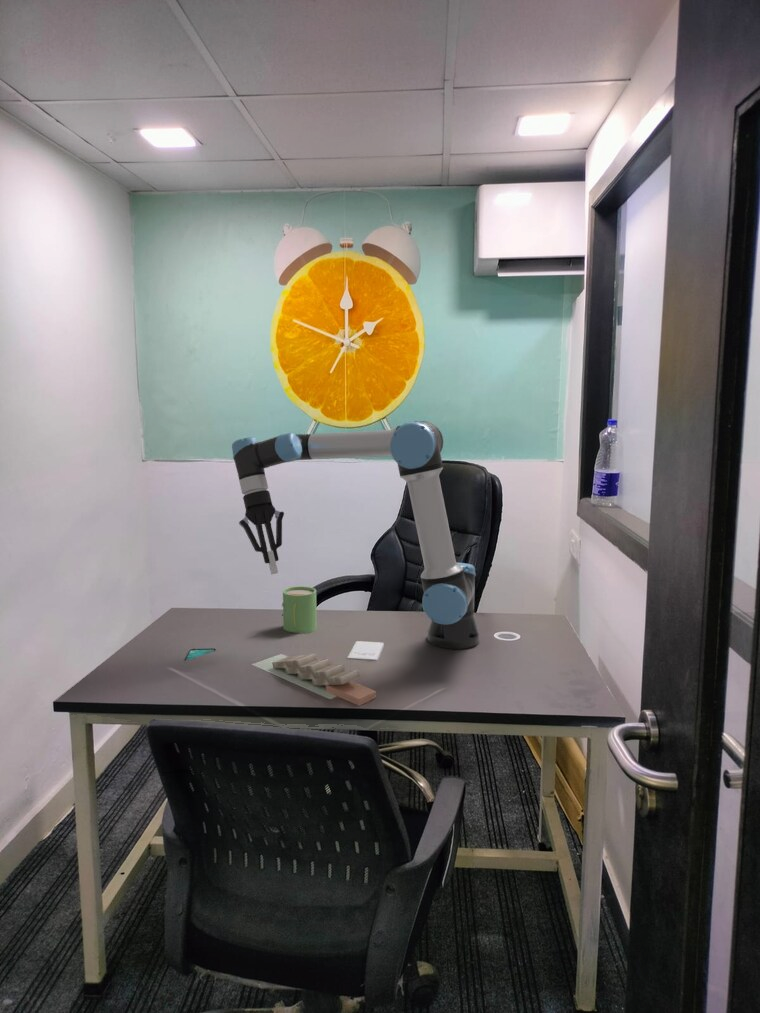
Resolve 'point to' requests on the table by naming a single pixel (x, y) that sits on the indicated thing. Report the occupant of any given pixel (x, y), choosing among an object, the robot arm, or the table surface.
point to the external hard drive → (366, 650)
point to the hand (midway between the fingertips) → (274, 573)
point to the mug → (299, 609)
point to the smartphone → (198, 652)
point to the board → (292, 676)
